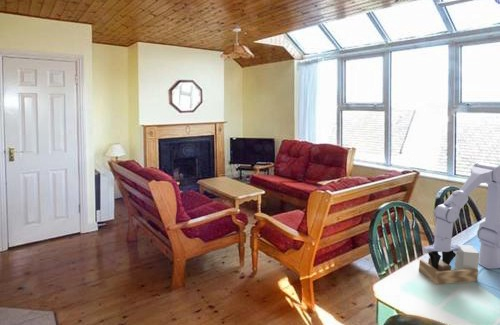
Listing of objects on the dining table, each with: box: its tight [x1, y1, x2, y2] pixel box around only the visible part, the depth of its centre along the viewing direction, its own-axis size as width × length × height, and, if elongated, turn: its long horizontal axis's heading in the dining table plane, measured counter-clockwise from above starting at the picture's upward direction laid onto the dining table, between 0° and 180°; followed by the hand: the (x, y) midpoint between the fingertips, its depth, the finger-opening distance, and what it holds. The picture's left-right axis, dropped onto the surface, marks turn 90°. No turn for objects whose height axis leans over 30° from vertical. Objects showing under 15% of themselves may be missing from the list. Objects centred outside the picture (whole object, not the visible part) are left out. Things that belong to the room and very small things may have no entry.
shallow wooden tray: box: [418, 259, 479, 285], centre depth 144 cm, size 17×11×4 cm, turn 100°
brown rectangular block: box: [427, 257, 452, 271], centre depth 145 cm, size 4×8×5 cm, turn 10°
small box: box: [453, 243, 480, 271], centre depth 146 cm, size 8×6×10 cm
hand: (439, 269), depth 145 cm, fingers closed on brown rectangular block, 4 cm apart
